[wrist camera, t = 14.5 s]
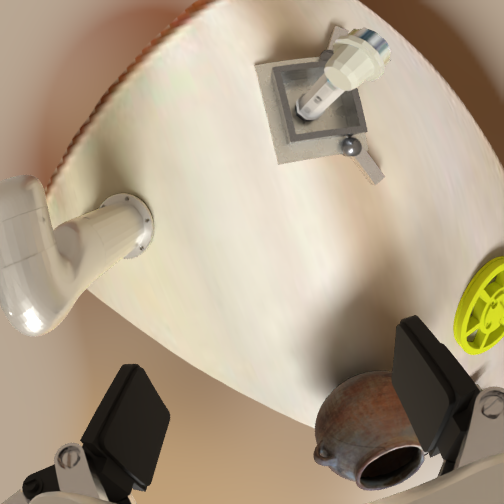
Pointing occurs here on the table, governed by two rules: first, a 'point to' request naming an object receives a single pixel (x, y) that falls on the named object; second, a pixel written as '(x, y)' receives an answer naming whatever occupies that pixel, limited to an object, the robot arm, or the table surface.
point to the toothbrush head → (345, 71)
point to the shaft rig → (317, 131)
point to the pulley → (482, 309)
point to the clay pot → (367, 433)
